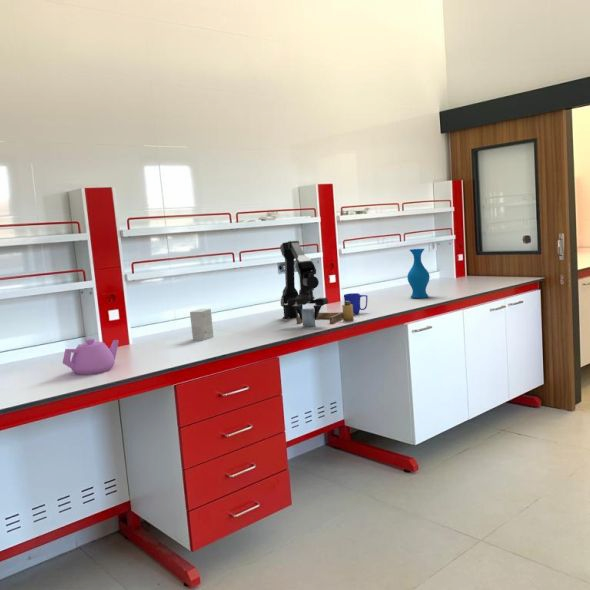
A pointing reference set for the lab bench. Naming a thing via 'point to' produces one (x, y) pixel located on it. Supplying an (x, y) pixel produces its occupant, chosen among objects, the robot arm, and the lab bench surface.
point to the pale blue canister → (308, 317)
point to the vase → (418, 276)
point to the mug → (355, 301)
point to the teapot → (91, 357)
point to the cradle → (326, 317)
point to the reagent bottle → (347, 311)
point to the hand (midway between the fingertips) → (308, 319)
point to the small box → (201, 324)
